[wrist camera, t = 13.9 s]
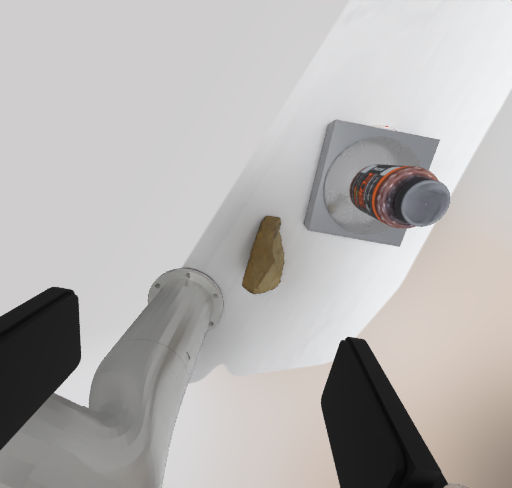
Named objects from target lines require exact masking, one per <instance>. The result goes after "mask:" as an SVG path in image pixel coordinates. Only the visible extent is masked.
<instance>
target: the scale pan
mask: <svg viewBox="0 0 512 488" xmlns="http://www.w3.org/2000/svg"><path fill="white" fill-rule="evenodd" d="M377 164H382V165H400V166H416V167H421V166H420V163H419V160H418V159H417V157H416V155H415V154H414V152H413V151H412V150H411V149H410V148H409V147H408V146H407V145H405V144H404V143H402V142H400V141H398V140H395V139H392V138H387V137H374V138H369V139H365V140H362V141H359V142H357V143H354V144H353V145H351V146H349V147H348V148H346V149H345V150H344V151H343V152H342V153H341V154H340V155H339V156H338V157H337V158H336V159H335V160H334V162H333V163H332V165H331V167H330V169H329V171H328V173H327V176H326V179H325V184H324V199H325V204H326V206H327V209H328V211H329V213H330V215H331V216H332V217H333V219H334V220H335V221H336V222H337V223H339V224H340V225H341V226H342V227H344V228H346V229H347V230H350V231H352V232H355V233H360V234H374V233H379V232H383V231H386V230H388V229H390V228H392V227H391V226H389V225H387V224H385V223H383V222H381V221H379V220H377V219H375V218H373V217H371V216H370V215H368V214H366V213H364V212H362V211H360V210H359V209H358V208H356V207H355V206H354V204H353V203H352V201H351V198H350V185H351V182H352V180H353V178H354V177H355V176H356V174H357V173H358V172H359V171H361V170H362V169H364V168H365V167H368V166H371V165H377Z"/></svg>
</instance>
